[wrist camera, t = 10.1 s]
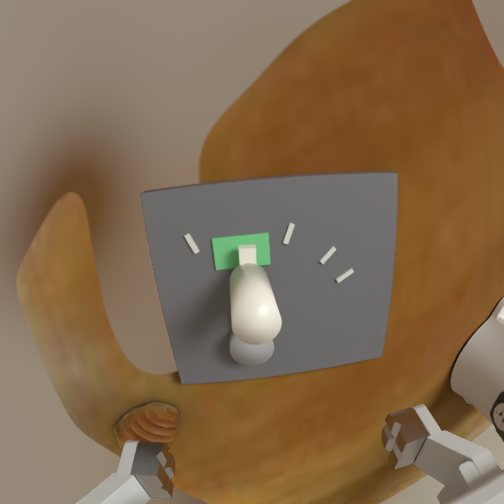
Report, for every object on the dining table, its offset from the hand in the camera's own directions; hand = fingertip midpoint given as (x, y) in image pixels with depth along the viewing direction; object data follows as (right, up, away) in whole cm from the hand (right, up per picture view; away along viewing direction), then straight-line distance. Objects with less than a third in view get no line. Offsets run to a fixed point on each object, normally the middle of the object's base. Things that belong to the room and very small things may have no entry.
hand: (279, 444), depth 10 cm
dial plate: (+1, +4, +17) cm, 18 cm away
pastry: (-13, -13, +22) cm, 29 cm away
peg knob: (-1, +3, +16) cm, 16 cm away
